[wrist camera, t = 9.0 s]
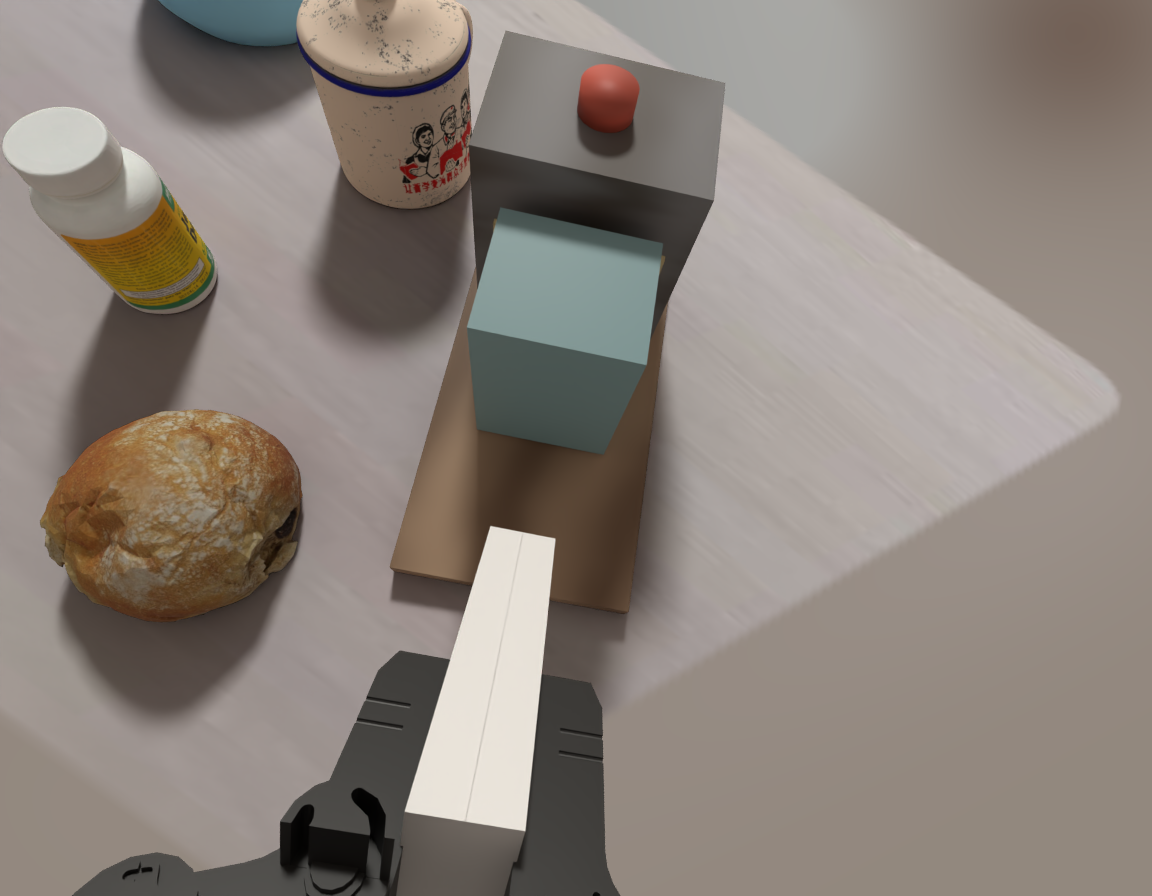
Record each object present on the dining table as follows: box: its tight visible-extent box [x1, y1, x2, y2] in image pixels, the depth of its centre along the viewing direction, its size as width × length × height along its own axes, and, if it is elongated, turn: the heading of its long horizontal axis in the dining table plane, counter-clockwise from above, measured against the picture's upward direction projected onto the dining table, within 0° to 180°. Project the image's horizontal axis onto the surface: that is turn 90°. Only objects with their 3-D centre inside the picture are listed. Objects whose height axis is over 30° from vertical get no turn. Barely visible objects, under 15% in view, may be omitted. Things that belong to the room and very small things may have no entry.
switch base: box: [390, 31, 725, 614], centre depth 27 cm, size 12×22×14 cm, turn 171°
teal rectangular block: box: [467, 207, 663, 455], centre depth 28 cm, size 7×6×10 cm
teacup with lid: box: [296, 0, 473, 209], centre depth 34 cm, size 12×9×12 cm
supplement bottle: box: [2, 107, 217, 314], centre depth 29 cm, size 5×5×10 cm
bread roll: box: [40, 409, 303, 622], centre depth 27 cm, size 10×10×8 cm
